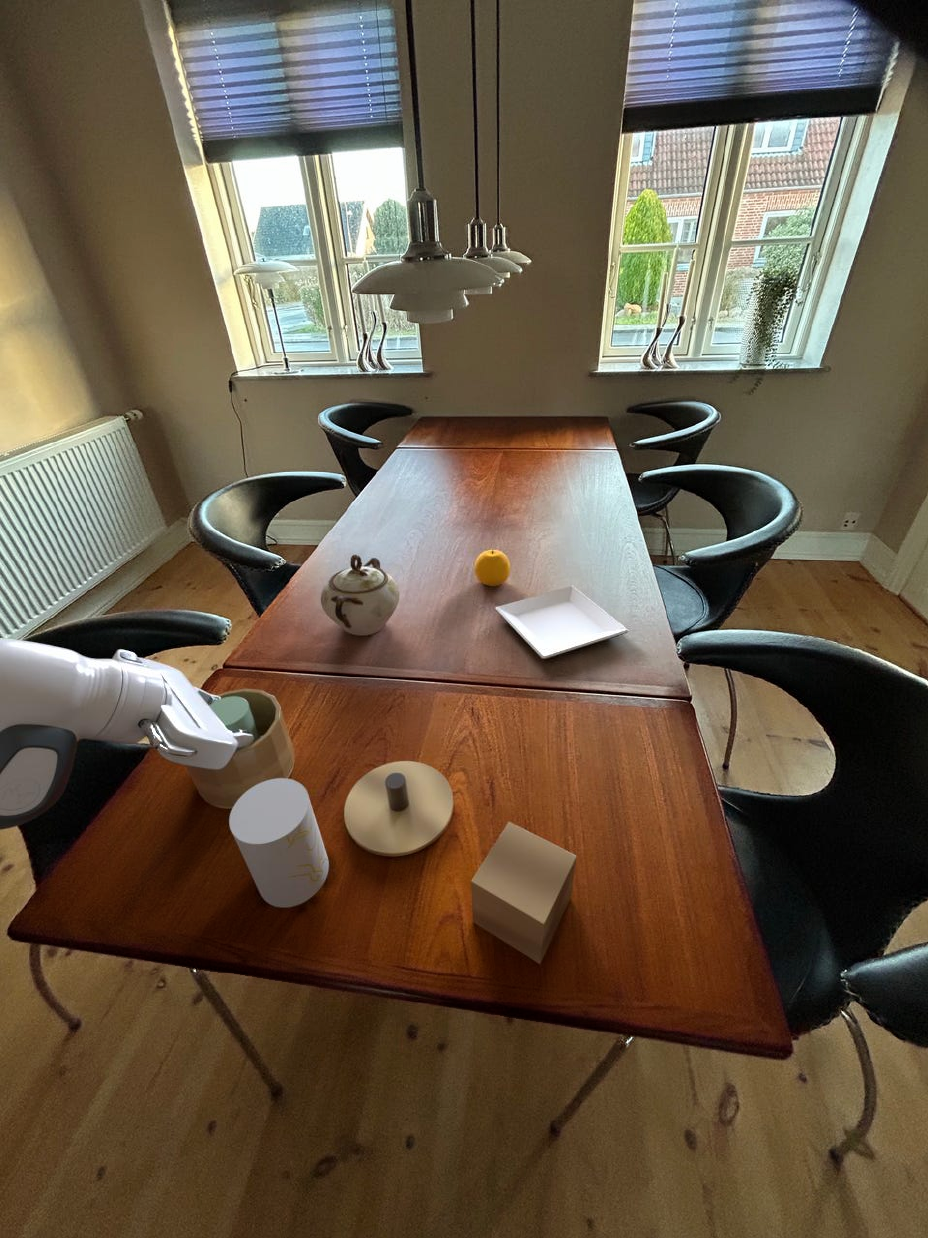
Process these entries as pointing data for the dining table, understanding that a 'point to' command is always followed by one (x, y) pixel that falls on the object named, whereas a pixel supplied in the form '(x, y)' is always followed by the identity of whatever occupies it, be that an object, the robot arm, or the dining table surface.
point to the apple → (492, 568)
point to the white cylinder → (280, 841)
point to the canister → (235, 715)
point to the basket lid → (398, 808)
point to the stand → (523, 890)
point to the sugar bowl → (360, 597)
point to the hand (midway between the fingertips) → (234, 721)
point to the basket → (250, 754)
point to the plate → (560, 621)
